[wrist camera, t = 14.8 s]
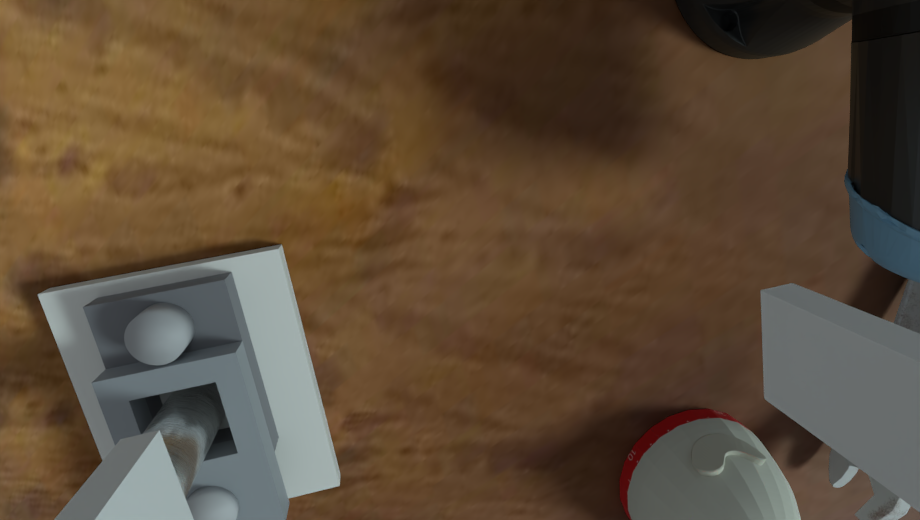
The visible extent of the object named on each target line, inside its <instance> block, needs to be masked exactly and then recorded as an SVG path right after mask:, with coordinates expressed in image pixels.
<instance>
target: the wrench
mask: <svg viewBox="0 0 920 520" xmlns="http://www.w3.org/2000/svg"><path fill="white" fill-rule="evenodd" d="M894 324H897V325H899V326H902V327H904V328H907V329H909V330H912V331H914V332H917V333H919V334H920V283H918V282H915V281H912V280H910V279H908V282H907V285H906V288H905V291H904V294H903V297H902V300H901V303H900V306H899V309H898V312H897V315H896V318H895V321H894ZM858 469H859V468H858V467H857V466H856V465H854V464H853V463H851V462H850V461H849V460H847V459H846V458H845V457H843V456H842V455H841V454H839V453H838V452H836V451H835V450H834V449H831V452H830V457H829V481H830V483H831V484H832V486H833V487H837V488H839V487H843V486H844V485H845V484H846V483H848V482H849V481H850V480H851V479H852V478H853V476H854V475H855V474H856V473H857V471H858ZM869 478H870V482H871V485H872V488H873V491H874V496H873V497H872V498H871V499H870V500H869V501H868V502H867V503H866V504H865V505H864V506H863V507H861V508H860V509H859V510H858V511H857V512H856V513H855V516H856V517H858V518H859V519H860V520H898V519H899V518H901V517H902V516H904V515H905V514H907V512H908V510H909V508H910V505H909V504H908V503H906V502H905V501H904V500H902V499H901V498H899V497H898V496H897V495H895V494H894V493H893V492H891V491H890V490H888V489H887V488H886V487H884V486H883V485H882V484H880V483H879V482H878V481H876V480H875V479H873V478H872V477H871V476H869Z"/></svg>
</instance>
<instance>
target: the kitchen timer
mask: <svg viewBox="0 0 920 520" xmlns="http://www.w3.org/2000/svg"><path fill="white" fill-rule="evenodd" d="M620 500H621V502H622V505H623V507H624V510H625V513H626V515H627V516H628V518H629V519H630V520H801V518H800V514H799V511H798V507H797V503H796V500H795V497H794V494H793V492H792V489H791V487H790V485H789V483H788V482H787V480H786V478H785V477H784V475H783V473H782V472H781V470H780V468H779V467H778V465H777V464H776V462H775V461H774V459H773V458H772V456H771V455H770V454H769V452H768V451H767V449H766V448H765V447H764V445H763V444H762V442H761V441H760V440H759V439H758V438H757V437H756V436H755V435H754V433H753V432H751V431H750V430H749V429H748V428H746V427H745V426H744V425H743V424H741V423H740V422H739V421H737V420H736V419H734V418H733V417H731V416H730V415H728V414H727V413H723V412H719V411H715V410H711V409H695V410H687V411H684V412H681V413H678V414H675V415H672V416H669V417H667V418H666V419H664V420H662V421H661V422H659V423H658V424H656V425H654V426H653V427H651V428H650V429H649V430H648V431H647V432H646V433H645V434H644V435H643V436H642V437H641V438H640V439H639V440H638V441H637V442H636V443H635V445H634V447H633V448H632V450H631V452H630V453H629V455H628V457H627V459H626V460H625V462H624V466H623V470H622V473H621V477H620Z"/></svg>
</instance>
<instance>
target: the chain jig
mask: <svg viewBox="0 0 920 520" xmlns="http://www.w3.org/2000/svg"><path fill="white" fill-rule="evenodd" d="M38 297H39V300H40V302H41V305H42V307H43V310H44V312H45V315H46V317H47V320H48V323H49V325H50V328H51V330H52V333H53V335H54V338H55V341H56V343H57V346H58V348H59V351H60V353H61V356H62V358H63V361H64V364H65V366H66V369H67V371H68V374H69V376H70V379H71V381H72V384H73V387H74V389H75V392H76V394H77V397H78V399H79V402H80V404H81V407H82V410H83V412H84V415H85V417H86V420H87V422H88V425H89V427H90V430H91V433H92V435H93V438H94V440H95V443H96V445H97V448H98V451H99V453H100V456H101V458H102V461H103V460H104V459H105V457H106V456H107V455H108V454H109V453H110V451H111V450H112V449H113V448H114V447H115V445H116V444H117V443H118V442H119V440H120V439H123V438H128V437H132V436H136V435H141V434H143V432H144V431H145V429H146V428H147V427H148V425H149V424H150V422H151V421H152V420H153V418H154V417H155V416H156V414H157V413H158V411H159V410H160V409H161V407H162V406H163V404H164V403H165V402H166V400H167V399H168V398H169V396H170V395H171V393H172V392H173V391H177V390H182V389H186V388H191V387H196V386H200V385H205V384H209V383H214V382H216V384H217V388H218V391H219V394H220V397H221V400H222V404H223V407H224V410H225V413H226V415H225V417H224V419H223V421H222V423H221V425H220V428H219V430H218V432H217V434H216V436H215V438H214V440H213V442H212V444H211V446H210V448H209V450H208V452H207V454H206V457H205V459H204V461H203V463H202V465H201V467H200V469H199V471H198V473H197V475H196V477H195V479H194V481H193V483H192V486H191V488H190V490H189V492H188V494H187V496H186V501H187V503H188V506H189V508H190V511H191V514H192V516H193V519H194V520H286V517H287V512H288V507H289V500H288V498H292V497H296V496H300V495H304V494H308V493H312V492H316V491H321V490H325V489H329V488H333V487H337V486H340V471H339V467H338V463H337V459H336V455H335V451H334V447H333V443H332V439H331V435H330V431H329V428H328V424H327V420H326V416H325V412H324V408H323V404H322V400H321V396H320V392H319V388H318V385H317V381H316V377H315V373H314V369H313V365H312V361H311V357H310V353H309V349H308V345H307V341H306V338H305V334H304V330H303V326H302V322H301V318H300V314H299V310H298V306H297V302H296V298H295V294H294V291H293V287H292V283H291V279H290V275H289V271H288V267H287V263H286V259H285V255H284V251H283V248H282V244H281V245H275V246H270V247H265V248H259V249H254V250H249V251H243V252H238V253H233V254H227V255H222V256H217V257H212V258H206V259H201V260H196V261H190V262H185V263H180V264H174V265H169V266H164V267H159V268H153V269H148V270H143V271H137V272H132V273H127V274H121V275H116V276H111V277H106V278H100V279H95V280H90V281H84V282H79V283H74V284H68V285H63V286H58V287H52V288H49V289H47V290H45V291H43V292H41V293H39V294H38Z"/></svg>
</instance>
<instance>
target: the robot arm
mask: <svg viewBox="0 0 920 520" xmlns="http://www.w3.org/2000/svg"><path fill="white" fill-rule="evenodd" d="M676 2H677V5H678V7H679V9H680V12H681V13H682V15H683V17H684V19H685V20H686V22H687V24H688V25H689V26H690V28H691V29H692V30H693V31H694V33H695V34H696V35H697V36H698V37H699V38H700V39H701V40H702V41H704V42H705V43H706V44H707V45H709V46H710V47H712V48H713V49H715V50H717V51H719V52H721V53H723V54H726V55H729V56H732V57H736V58H742V59H760V58H767V57H773V56H779V55H784V54H788V53H792V52H795V51H797V50H800V49H802V48H805V47H807V46H809V45H811V44H813V43H815V42H816V41H818V40H820V39H821V38H823V37H825V36H826V35H828V34H829V33H831V32H832V31H834V30H836V29H837V28H839V27H840V26H842V25H844V24H845V23H847V22H848V21H850V20H851V19H852V41H851V42H852V43H851V85H850V126H849V154H848V169H847V171H846V175H845V180H844V182H845V186H846V189H847V191H848V193H849V205H850V228H851V233H852V237H853V239H854V241H855V243H856V244H857V246H858V247H859V248H860V249H861V250H862V251H863V252H864V253H865V254H866V255H867V256H869V257H871V258H872V260H873V261H874V262H876V263H877V264H879V265H880V266H882V267H883V268H885V269H887V270H889V271H891V272H893V273H895V274H898V275H900V276H902V277H905V278H907V279H910V280H912V281H915V282H918V283H920V0H676ZM761 316H762V346H763V375H764V399H765V400H767V401H768V402H769V403H771V404H772V405H773V406H775V407H776V408H777V409H779V410H780V411H782V412H783V413H784V414H786V415H787V416H788V417H790V418H791V419H793V420H794V421H795V422H797V423H798V424H799V425H801V426H802V427H804V428H805V429H806V430H808V431H809V432H810V433H812V434H813V435H814V436H816V437H817V438H819V439H820V440H821V441H823V442H824V443H825V444H827V445H828V446H830V447H831V448H832V449H834V450H835V451H836V452H838V453H839V454H841V455H842V456H843V457H845V458H846V459H847V460H849V461H850V462H851V463H853V464H854V465H856V466H857V467H858V468H860V469H861V470H862V471H864V472H865V473H867V474H868V475H869V476H871V477H872V478H873V479H875V480H876V481H878V482H879V483H880V484H882V485H883V486H884V487H886V488H887V489H888V490H890V491H891V492H893V493H894V494H895V495H897V496H898V497H899V498H901V499H902V500H904V501H905V502H906V503H908V504H909V505H910V506H912V507H913V508H915V509H916V510H917V511H919V512H920V334H919V333H917V332H914V331H912V330H909V329H907V328H904V327H902V326H899V325H897V324H894V323H892V322H889V321H887V320H884V319H882V318H879V317H877V316H874V315H871V314H869V313H866V312H864V311H861V310H859V309H856V308H854V307H851V306H849V305H846V304H844V303H841V302H839V301H836V300H834V299H831V298H829V297H826V296H824V295H821V294H819V293H816V292H814V291H811V290H809V289H806V288H803V287H801V286H798V285H796V284H793V283H790V284H786V285H782V286H778V287H773V288H769V289H765V290H761ZM54 520H194V519H193V516H192V514H191V511H190V508H189V506H188V503H187V501H186V498H185V495H184V493H183V490H182V488H181V485H180V482H179V480H178V477H177V475H176V472H175V469H174V467H173V464H172V462H171V459H170V456H169V454H168V451H167V449H166V446H165V443H164V441H163V438H162V436H161V433H160V430H158V431H154V432H149V433H145V434H141V435H136V436H132V437H128V438H123V439H120V440H119V442H118V443H117V444H116V445H115V447H114V448H113V449H112V450H111V451H110V453H109V454H108V455H107V456H106V457H105V459H104V460H103V461H102V462H101V464H100V465H99V466H98V467H97V468H96V470H95V471H94V472H93V473H92V474H91V476H90V477H89V478H88V479H87V481H86V482H85V483H84V484H83V485H82V487H81V488H80V489H79V490H78V491H77V493H76V494H75V495H74V496H73V498H72V499H71V500H70V501H69V502H68V504H67V505H66V506H65V507H64V508H63V510H62V511H61V512H60V513H59V515H58V516H57V517H56V518H55V519H54Z"/></svg>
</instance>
